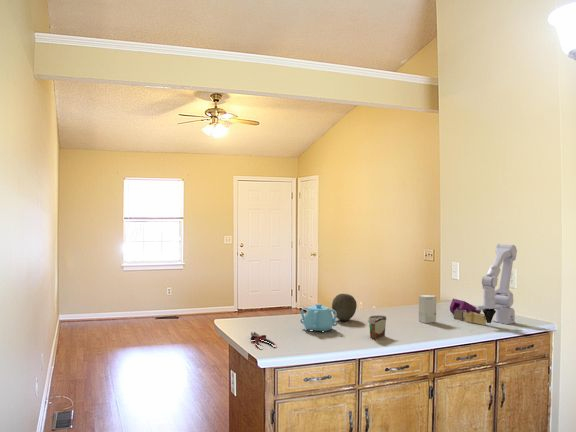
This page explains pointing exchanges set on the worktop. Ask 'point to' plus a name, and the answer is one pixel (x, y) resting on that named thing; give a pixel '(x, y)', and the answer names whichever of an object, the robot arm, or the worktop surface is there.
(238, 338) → the worktop surface
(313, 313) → the decorative pot
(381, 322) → the food container
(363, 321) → the worktop surface
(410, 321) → the worktop surface
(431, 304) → the skincare box
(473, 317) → the loose leaf
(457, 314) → the fixed leaf
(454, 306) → the mounting bracket
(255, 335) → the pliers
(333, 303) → the dark brown ball
